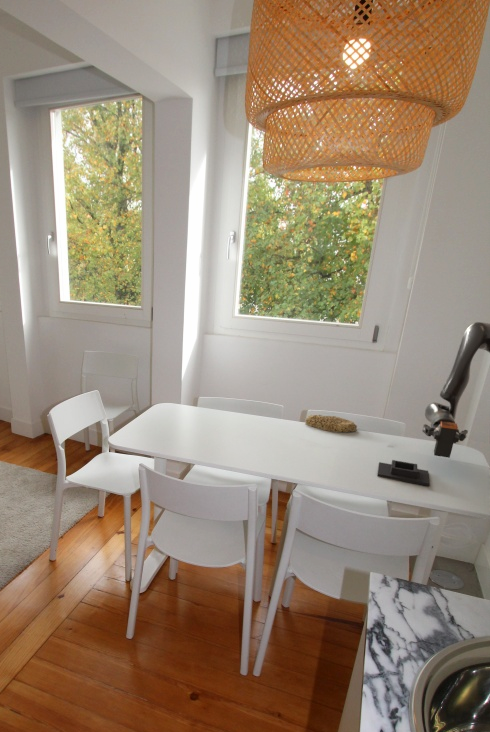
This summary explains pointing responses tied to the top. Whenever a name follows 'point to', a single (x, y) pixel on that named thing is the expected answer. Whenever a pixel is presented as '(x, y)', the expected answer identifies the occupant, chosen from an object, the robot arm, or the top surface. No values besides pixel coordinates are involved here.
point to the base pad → (403, 472)
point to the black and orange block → (445, 439)
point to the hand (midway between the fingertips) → (446, 439)
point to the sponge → (331, 423)
